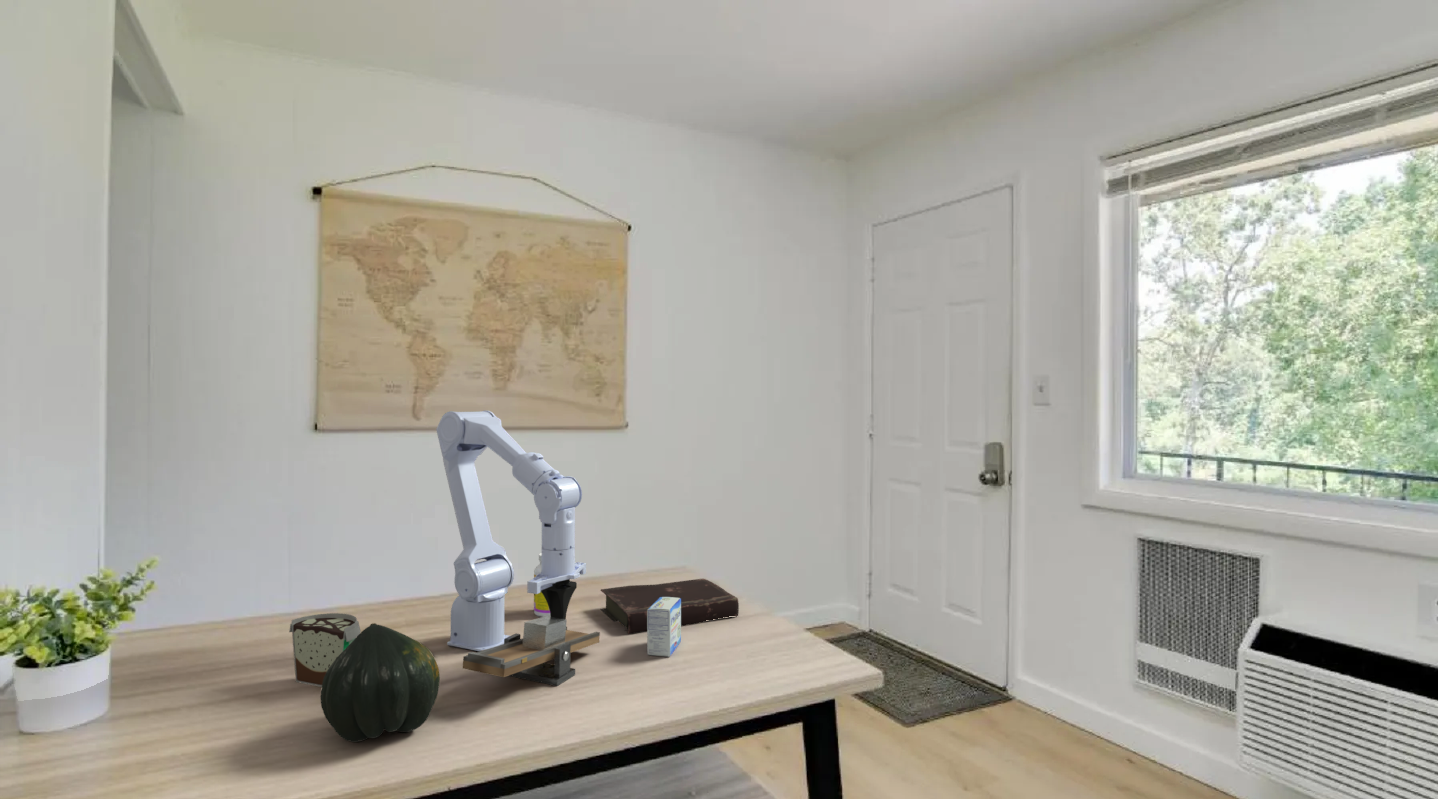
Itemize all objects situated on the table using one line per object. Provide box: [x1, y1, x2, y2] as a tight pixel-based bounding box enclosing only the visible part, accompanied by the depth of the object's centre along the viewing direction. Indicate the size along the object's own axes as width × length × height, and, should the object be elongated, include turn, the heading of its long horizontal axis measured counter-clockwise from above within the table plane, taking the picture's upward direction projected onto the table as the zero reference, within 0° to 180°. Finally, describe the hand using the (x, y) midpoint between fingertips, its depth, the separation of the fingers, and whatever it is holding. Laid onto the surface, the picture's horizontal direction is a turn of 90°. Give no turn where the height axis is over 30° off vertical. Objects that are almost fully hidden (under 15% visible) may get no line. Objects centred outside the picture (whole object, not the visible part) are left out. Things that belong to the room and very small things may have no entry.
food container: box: [288, 612, 362, 688], centre depth 115 cm, size 12×6×10 cm, turn 71°
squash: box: [319, 622, 441, 743], centre depth 99 cm, size 14×15×15 cm
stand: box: [504, 633, 576, 687], centre depth 118 cm, size 12×5×6 cm, turn 67°
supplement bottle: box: [533, 552, 551, 618], centre depth 150 cm, size 7×7×13 cm
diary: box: [599, 578, 740, 635], centre depth 152 cm, size 19×25×5 cm
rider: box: [522, 616, 567, 650], centre depth 120 cm, size 4×6×4 cm
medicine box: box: [646, 597, 682, 658], centre depth 130 cm, size 8×4×9 cm, turn 168°
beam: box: [462, 626, 601, 678], centre depth 118 cm, size 8×26×2 cm, turn 157°
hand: (558, 623), depth 123 cm, fingers closed, pressing on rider
